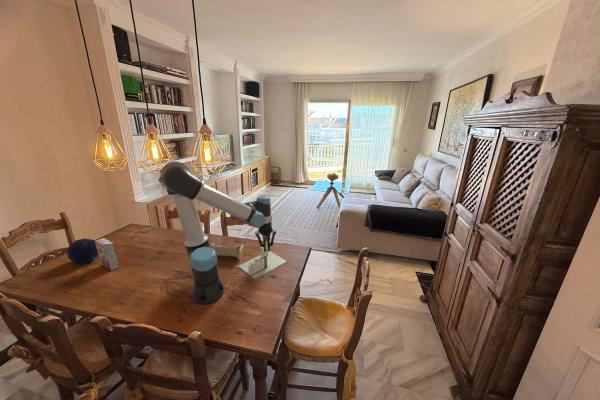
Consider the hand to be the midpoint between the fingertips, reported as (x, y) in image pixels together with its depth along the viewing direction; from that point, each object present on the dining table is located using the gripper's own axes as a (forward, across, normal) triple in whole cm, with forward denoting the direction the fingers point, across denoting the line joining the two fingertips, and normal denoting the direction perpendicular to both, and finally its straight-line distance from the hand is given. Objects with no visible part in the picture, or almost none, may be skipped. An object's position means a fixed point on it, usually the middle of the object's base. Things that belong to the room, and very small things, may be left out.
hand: (267, 255), depth 147 cm
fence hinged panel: (+2, +2, +1) cm, 4 cm away
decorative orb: (0, +109, -15) cm, 110 cm away
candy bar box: (+1, +91, -7) cm, 92 cm away
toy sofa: (+3, +26, -8) cm, 27 cm away
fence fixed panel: (+2, +6, +11) cm, 13 cm away
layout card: (+3, +3, +4) cm, 6 cm away
